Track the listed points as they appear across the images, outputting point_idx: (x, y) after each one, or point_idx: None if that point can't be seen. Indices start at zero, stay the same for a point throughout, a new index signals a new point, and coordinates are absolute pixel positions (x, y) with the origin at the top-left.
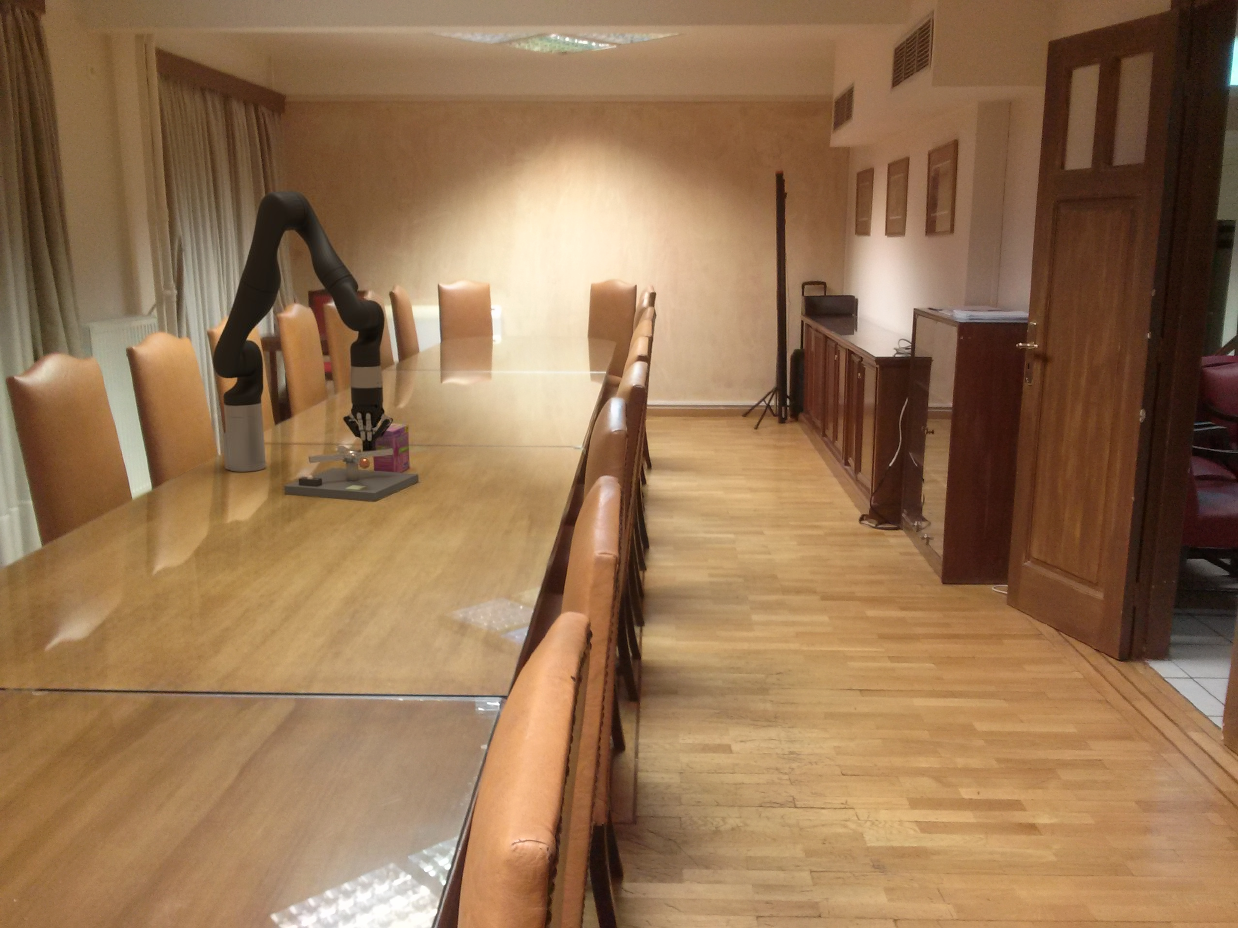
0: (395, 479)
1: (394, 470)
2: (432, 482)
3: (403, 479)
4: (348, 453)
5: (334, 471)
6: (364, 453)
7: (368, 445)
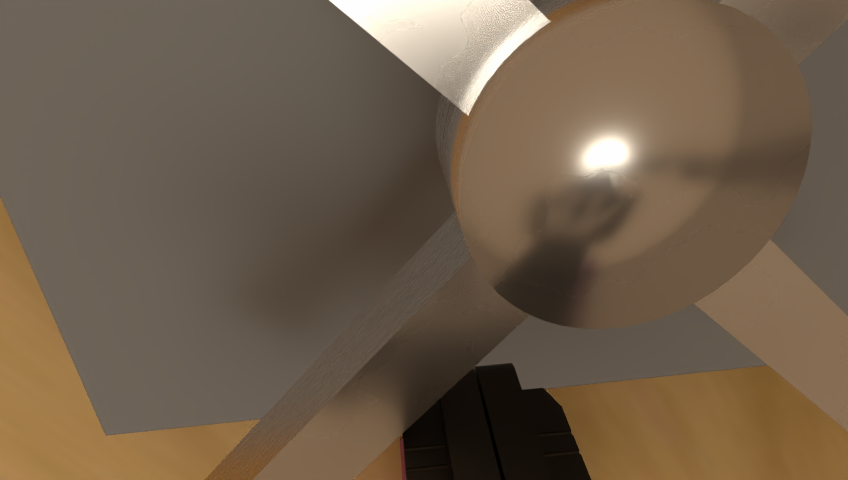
0: (115, 222)
1: (403, 476)
2: (27, 413)
3: (46, 249)
4: (606, 1)
5: (808, 270)
6: (429, 279)
7: (469, 475)
